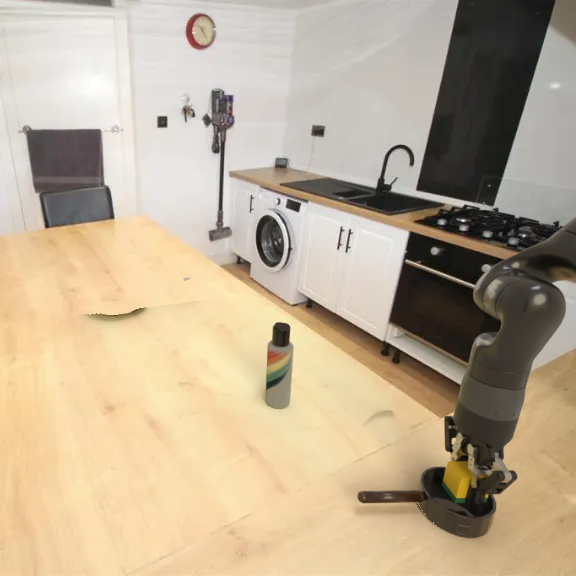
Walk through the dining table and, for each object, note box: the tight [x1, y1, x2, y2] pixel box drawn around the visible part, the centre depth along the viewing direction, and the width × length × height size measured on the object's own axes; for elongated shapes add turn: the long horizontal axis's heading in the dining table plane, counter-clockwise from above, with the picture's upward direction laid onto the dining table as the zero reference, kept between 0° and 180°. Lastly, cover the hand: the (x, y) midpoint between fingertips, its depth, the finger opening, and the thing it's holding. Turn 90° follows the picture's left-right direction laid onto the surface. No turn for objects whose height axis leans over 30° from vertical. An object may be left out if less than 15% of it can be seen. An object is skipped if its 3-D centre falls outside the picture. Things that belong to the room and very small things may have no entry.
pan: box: [417, 466, 497, 539], centre depth 67 cm, size 10×10×4 cm
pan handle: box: [356, 489, 425, 504], centre depth 67 cm, size 11×2×2 cm, turn 90°
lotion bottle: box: [264, 321, 295, 410], centre depth 92 cm, size 6×6×20 cm
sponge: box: [442, 460, 489, 503], centre depth 65 cm, size 5×4×5 cm
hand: (464, 491), depth 66 cm, fingers closed on sponge, 3 cm apart
